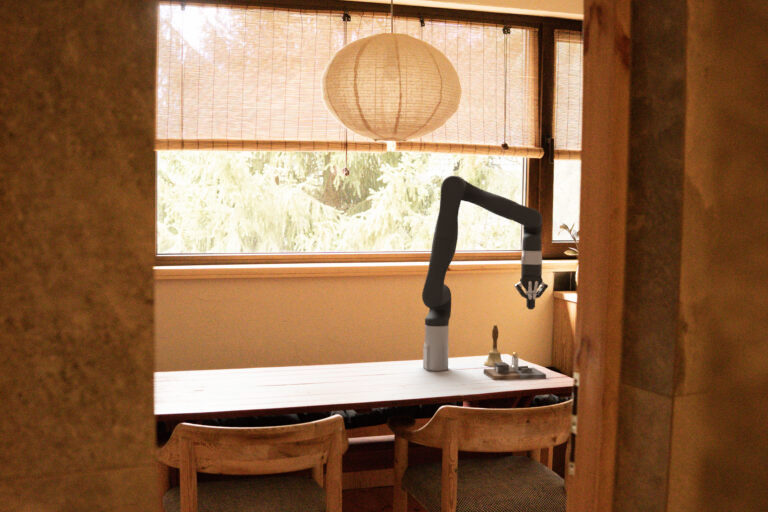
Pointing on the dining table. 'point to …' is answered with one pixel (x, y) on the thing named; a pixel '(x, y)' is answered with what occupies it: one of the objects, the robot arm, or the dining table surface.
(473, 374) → the dining table surface
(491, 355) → the hand bell
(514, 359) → the bolt
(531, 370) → the lock plate
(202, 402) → the dining table surface
